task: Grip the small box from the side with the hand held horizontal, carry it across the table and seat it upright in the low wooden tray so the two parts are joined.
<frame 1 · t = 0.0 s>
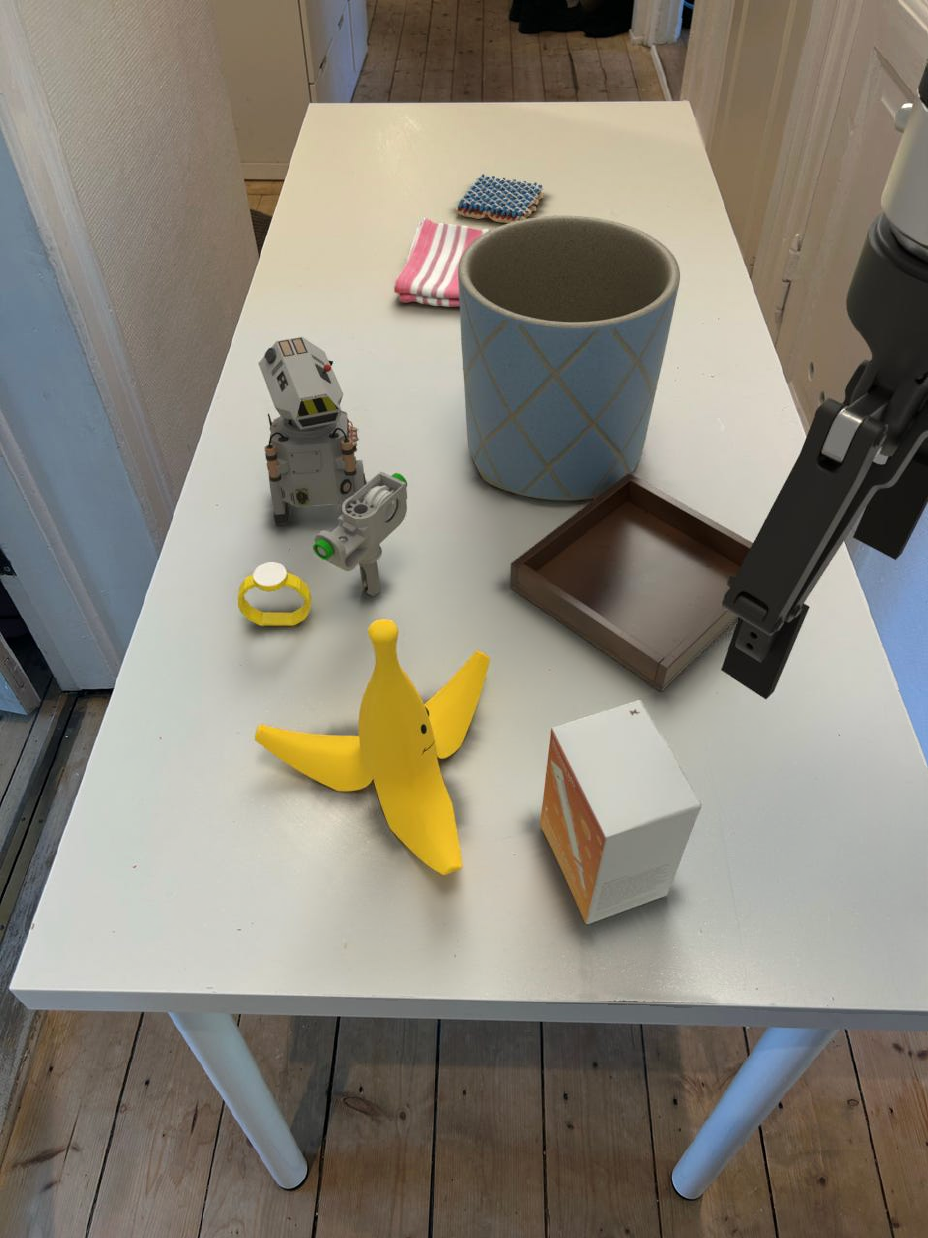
hand: (816, 609, 49), 22 cm above the table, tool pointing down, fingers open, 13 cm apart
planter: (553, 451, 93), on the table
dish towel: (495, 279, 115), on the table
banana peel: (370, 766, 69), on the table
woven mat: (500, 207, 128), on the table
mechanical component: (372, 590, 80), on the table
watch: (280, 622, 78), on the table
wooden tray: (641, 585, 80), on the table
figurine: (322, 496, 89), on the table
small box: (601, 861, 63), on the table
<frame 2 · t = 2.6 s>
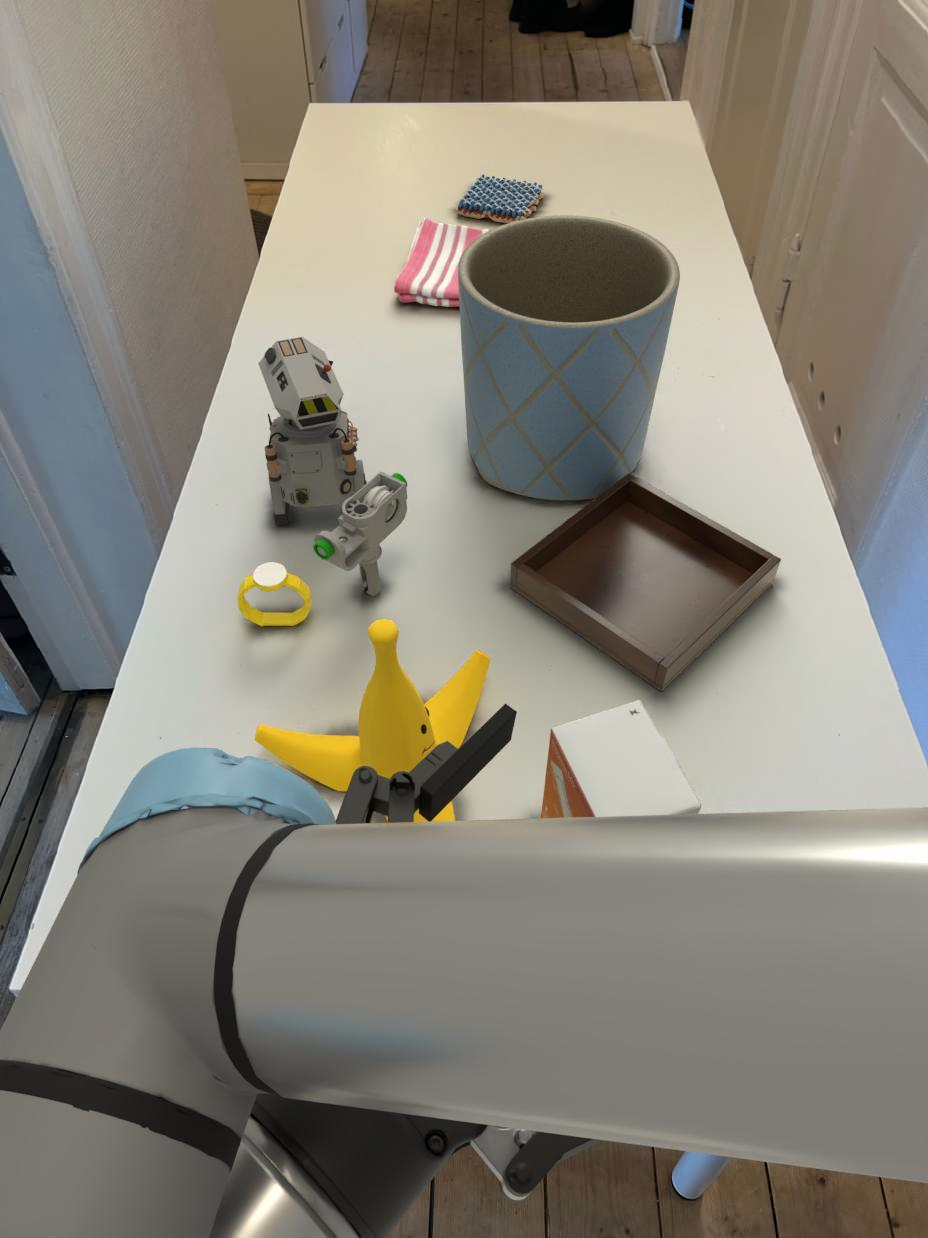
hand: (616, 800, 44), 19 cm above the table, tool horizontal, fingers open, 13 cm apart
nothing on the table moved.
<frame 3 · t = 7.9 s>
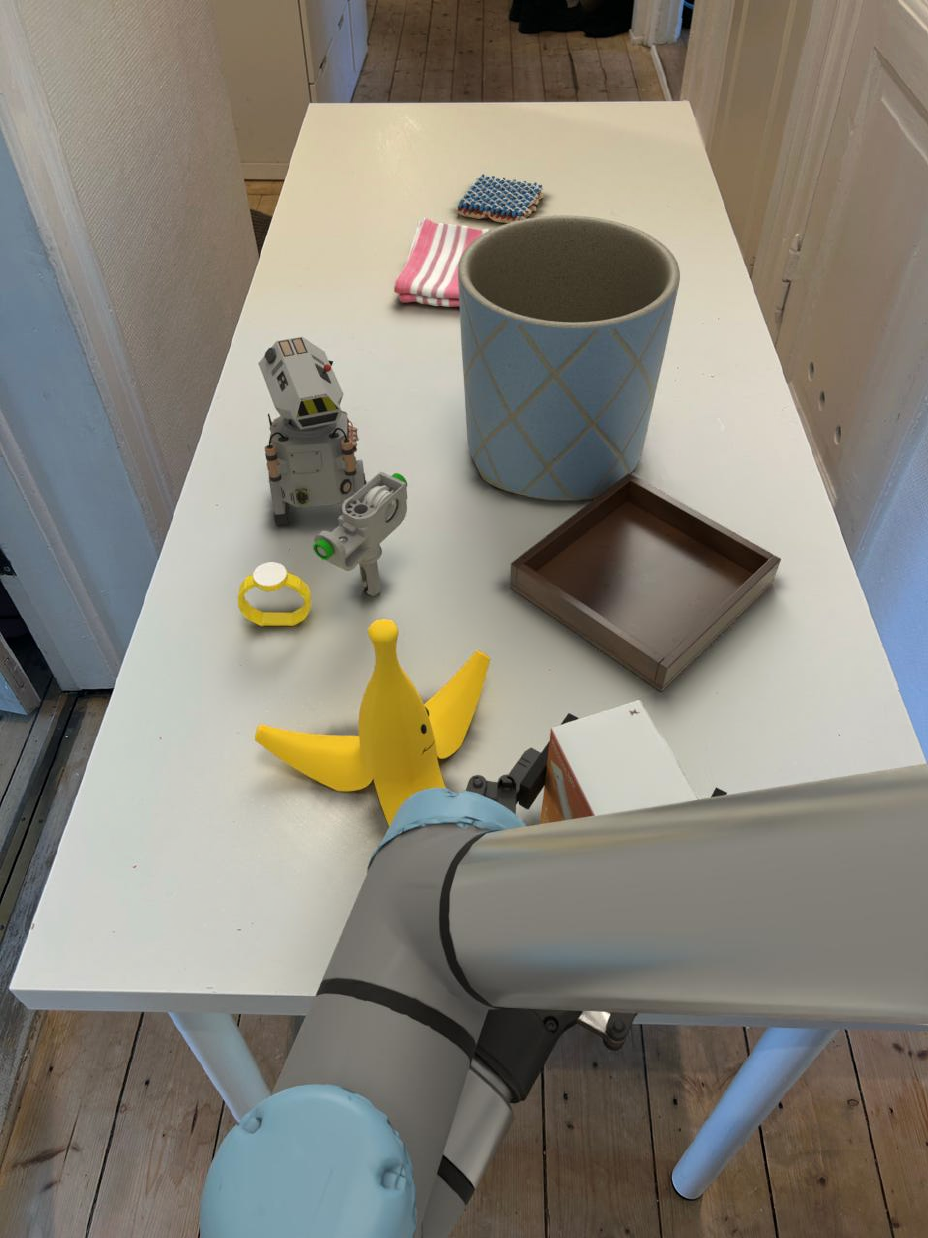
hand: (642, 762, 60), 7 cm above the table, tool horizontal, fingers closed on small box, 10 cm apart
small box: (601, 861, 63), on the table, touching gripper
everything else where it was.
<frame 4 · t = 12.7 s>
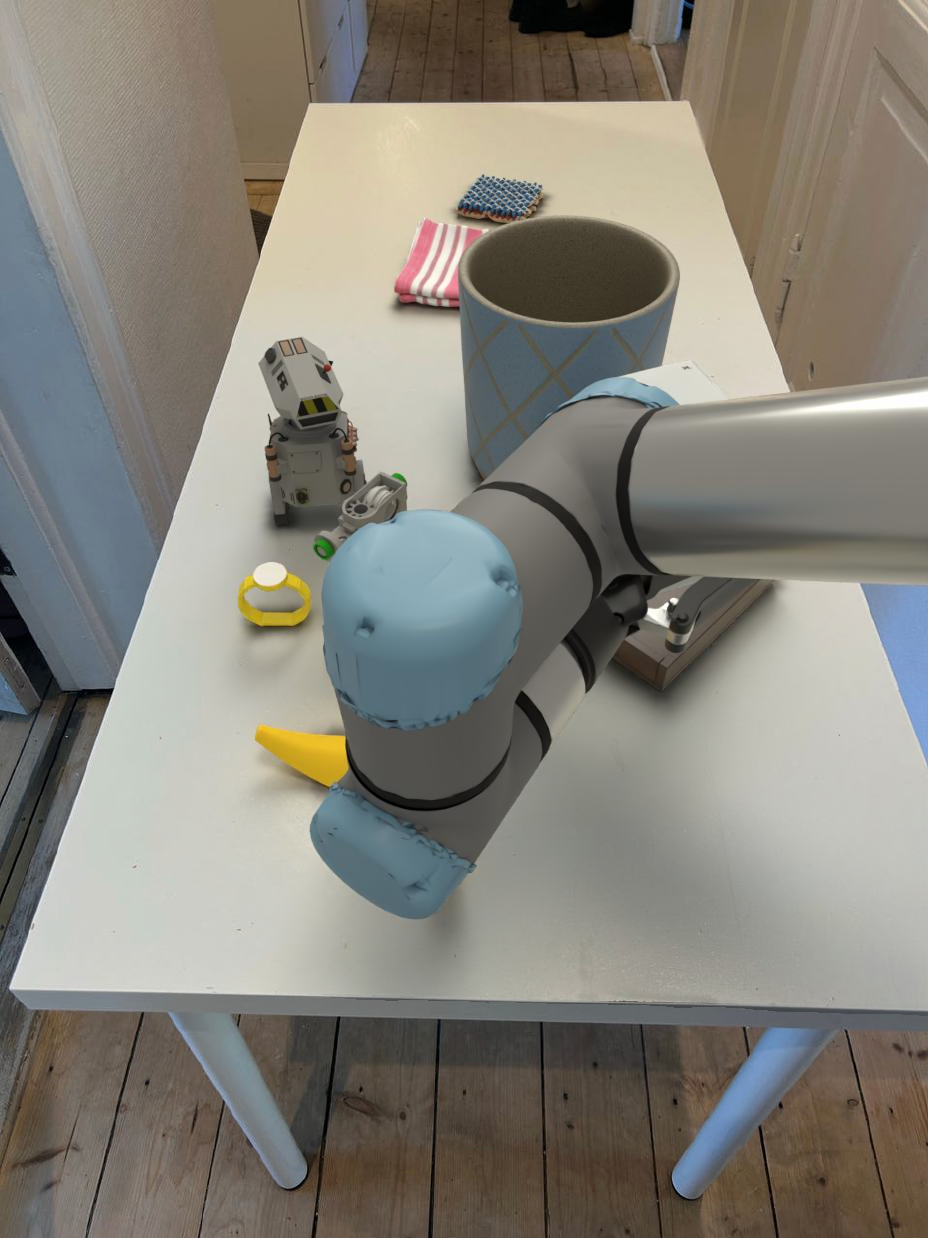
hand: (691, 440, 62), 20 cm above the table, tool horizontal, fingers closed on small box, 10 cm apart
small box: (649, 554, 65), point 13 cm above the table, touching gripper
everything else where it was.
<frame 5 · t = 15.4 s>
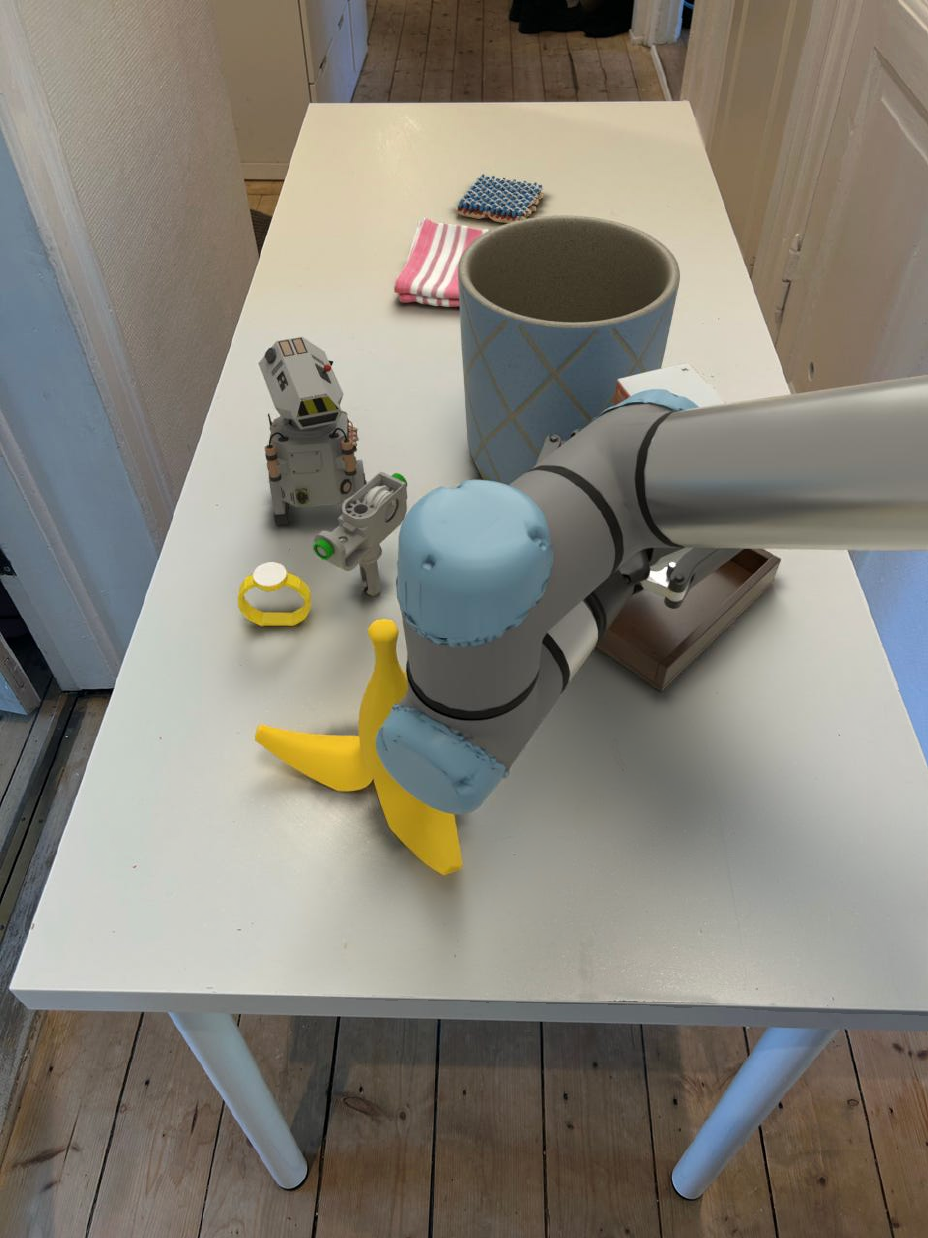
hand: (688, 432, 72), 14 cm above the table, tool horizontal, fingers closed on small box, 10 cm apart
small box: (651, 530, 75), point 7 cm above the table, touching gripper
everything else where it was.
when the fingers open (8 cm above the table, at t = 17.7 s): small box stays where it is, resting on wooden tray.
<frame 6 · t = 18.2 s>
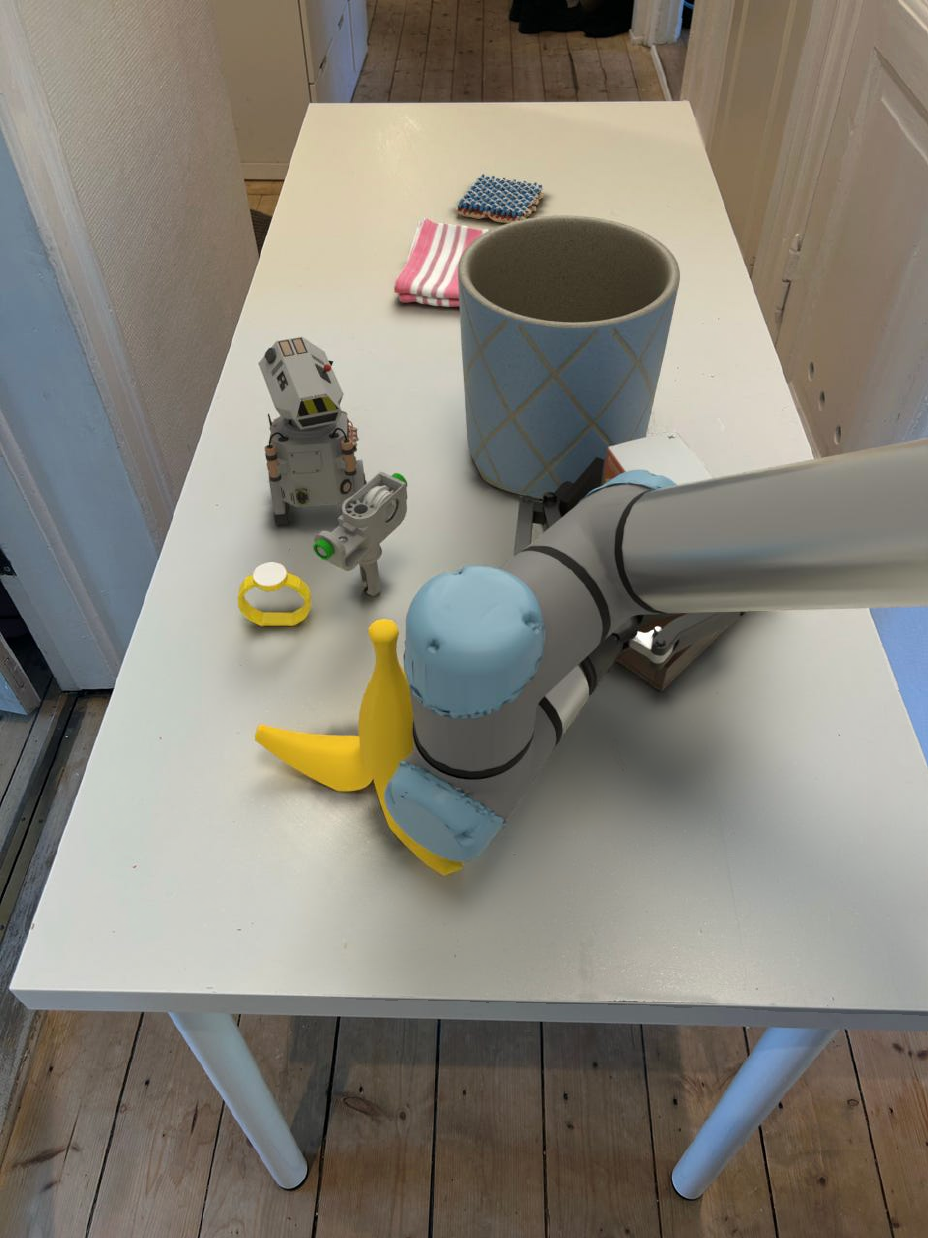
hand: (671, 497, 76), 8 cm above the table, tool horizontal, fingers open, 13 cm apart
small box: (641, 582, 80), resting on wooden tray
everything else where it was.
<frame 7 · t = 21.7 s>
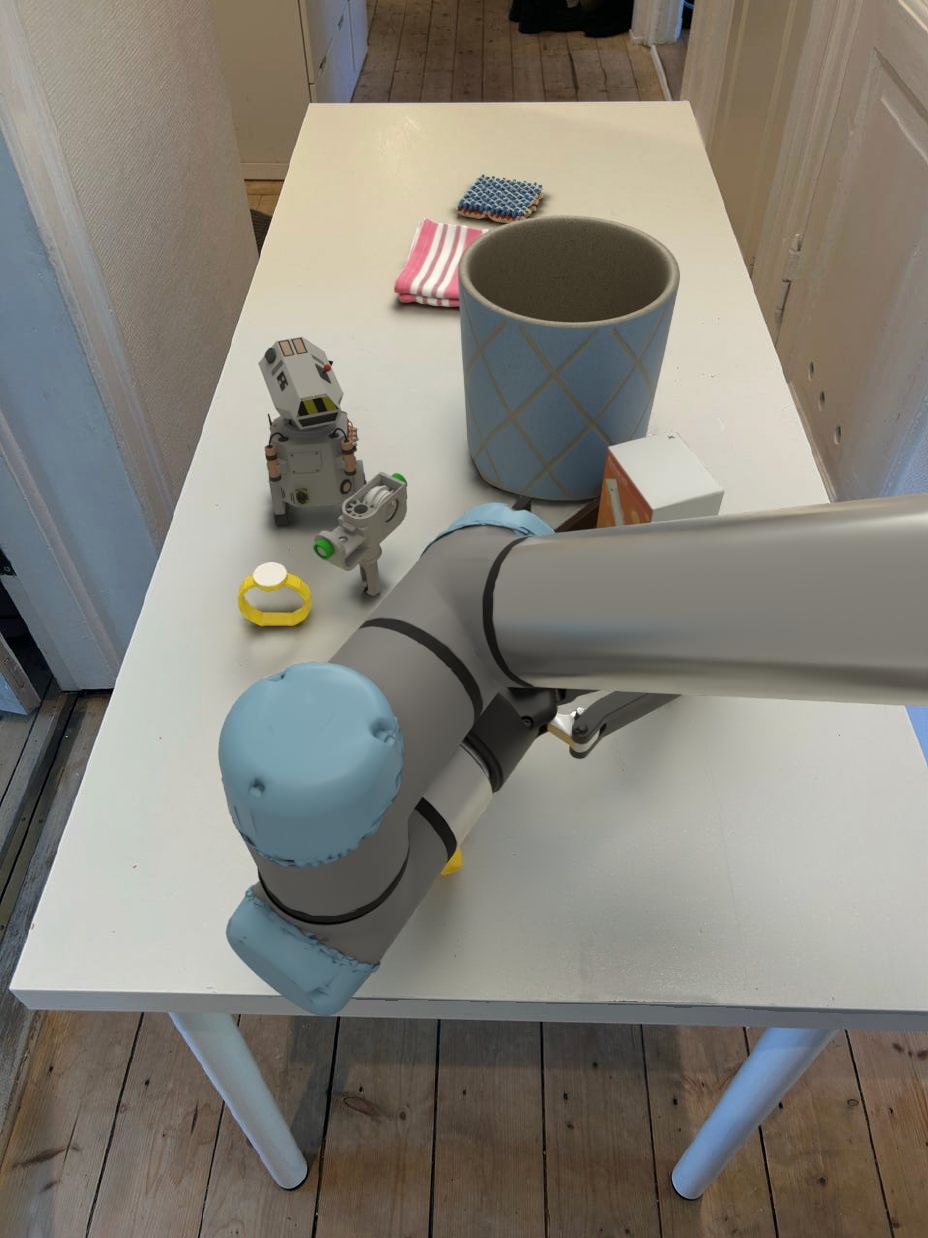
hand: (608, 543, 65), 13 cm above the table, tool horizontal, fingers open, 13 cm apart
nothing on the table moved.
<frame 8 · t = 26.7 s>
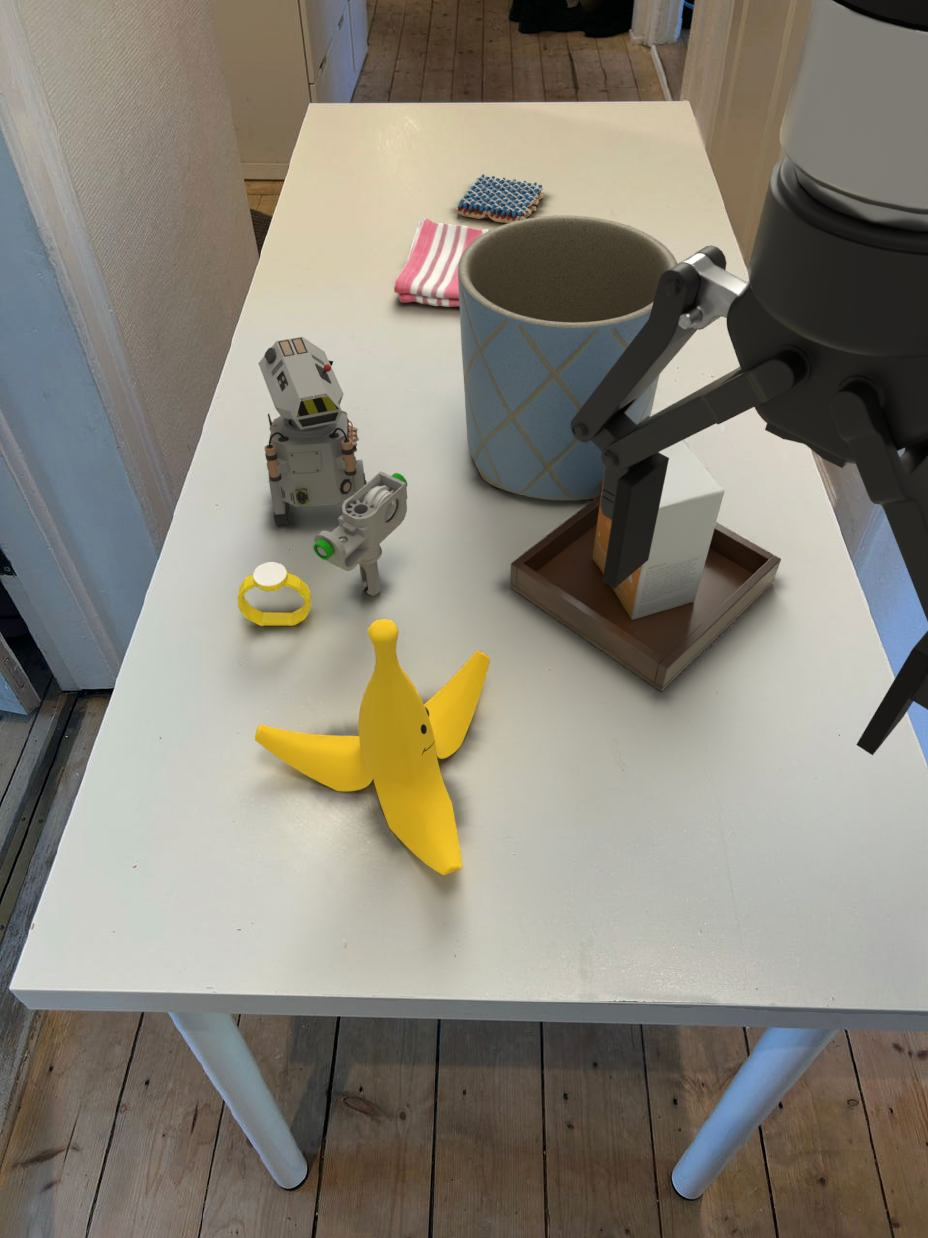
hand: (743, 645, 41), 27 cm above the table, tool pointing down, fingers open, 13 cm apart
nothing on the table moved.
at the end: small box inside the target area in the wooden tray (0.0 cm from its centre), point 0.4 cm above the wooden tray's base; small box tilted 0°; the gripper is holding nothing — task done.
